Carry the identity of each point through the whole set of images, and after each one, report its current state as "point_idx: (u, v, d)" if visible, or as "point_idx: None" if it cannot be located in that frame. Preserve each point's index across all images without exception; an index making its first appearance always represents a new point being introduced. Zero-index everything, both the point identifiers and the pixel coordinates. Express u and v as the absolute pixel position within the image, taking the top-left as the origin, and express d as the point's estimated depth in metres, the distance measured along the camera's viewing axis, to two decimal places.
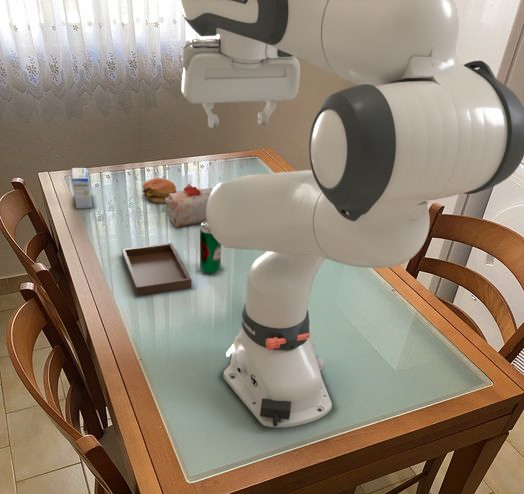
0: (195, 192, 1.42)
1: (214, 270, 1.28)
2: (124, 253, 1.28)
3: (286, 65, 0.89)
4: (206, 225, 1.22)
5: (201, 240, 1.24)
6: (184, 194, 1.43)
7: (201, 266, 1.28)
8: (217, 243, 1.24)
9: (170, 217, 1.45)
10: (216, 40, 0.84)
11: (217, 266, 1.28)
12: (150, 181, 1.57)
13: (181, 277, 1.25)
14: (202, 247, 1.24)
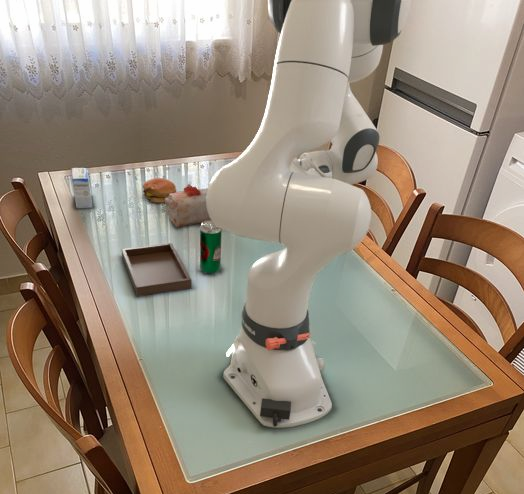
0: (195, 192, 1.42)
1: (214, 270, 1.28)
2: (124, 253, 1.28)
3: None
4: (206, 225, 1.22)
5: (201, 240, 1.24)
6: (184, 194, 1.43)
7: (201, 266, 1.28)
8: (217, 243, 1.24)
9: (170, 217, 1.45)
10: None
11: (217, 266, 1.28)
12: (150, 181, 1.57)
13: (181, 277, 1.25)
14: (202, 247, 1.24)
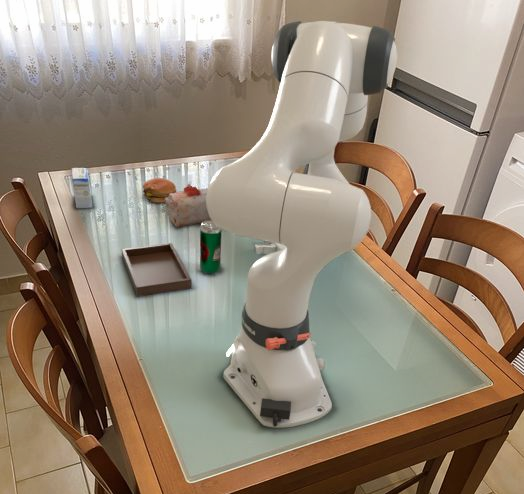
0: (195, 192, 1.42)
1: (214, 270, 1.28)
2: (124, 253, 1.28)
3: None
4: (206, 225, 1.22)
5: (201, 240, 1.24)
6: (184, 194, 1.43)
7: (201, 266, 1.28)
8: (217, 243, 1.24)
9: (170, 217, 1.45)
10: None
11: (217, 266, 1.28)
12: (150, 181, 1.57)
13: (181, 277, 1.25)
14: (202, 247, 1.24)
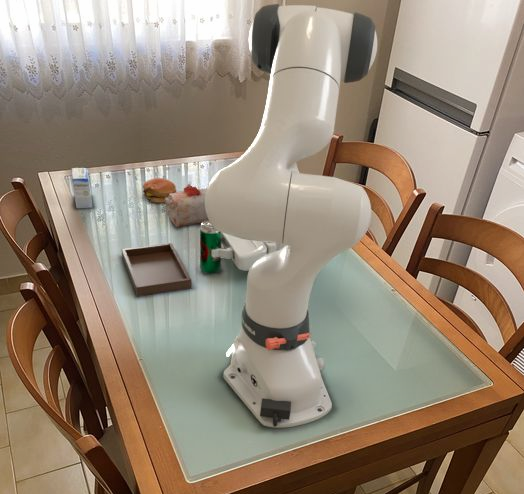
0: (195, 192, 1.42)
1: (214, 270, 1.28)
2: (124, 253, 1.28)
3: (259, 247, 1.23)
4: (206, 225, 1.22)
5: (201, 240, 1.24)
6: (184, 194, 1.43)
7: (201, 266, 1.28)
8: (217, 243, 1.24)
9: (170, 217, 1.45)
10: None
11: (217, 266, 1.28)
12: (150, 181, 1.57)
13: (181, 277, 1.25)
14: (202, 247, 1.24)
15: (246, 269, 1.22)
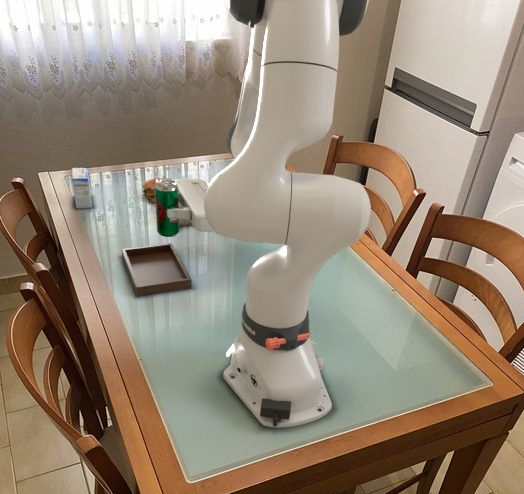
0: None
1: (172, 233, 1.19)
2: (124, 253, 1.28)
3: None
4: (161, 183, 1.13)
5: (156, 199, 1.15)
6: None
7: (158, 229, 1.19)
8: (173, 202, 1.15)
9: None
10: None
11: (175, 229, 1.19)
12: (150, 181, 1.57)
13: (181, 277, 1.25)
14: (157, 207, 1.16)
15: (204, 230, 1.13)
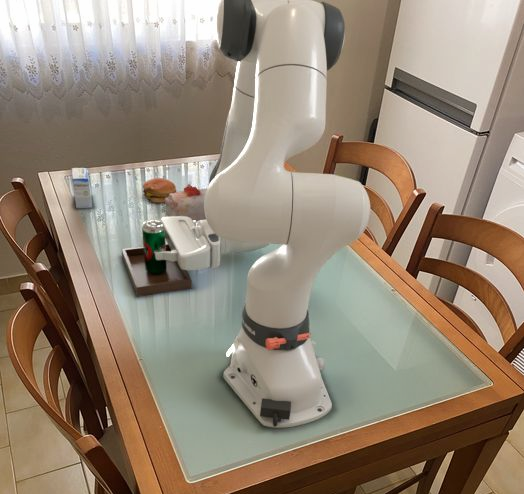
0: (195, 192, 1.42)
1: (159, 271, 1.25)
2: (124, 253, 1.28)
3: (203, 246, 1.20)
4: (148, 224, 1.19)
5: (144, 240, 1.20)
6: (184, 194, 1.43)
7: (146, 266, 1.25)
8: (160, 243, 1.20)
9: None
10: None
11: (162, 267, 1.25)
12: (150, 181, 1.57)
13: (181, 277, 1.25)
14: (145, 247, 1.21)
15: (189, 269, 1.18)
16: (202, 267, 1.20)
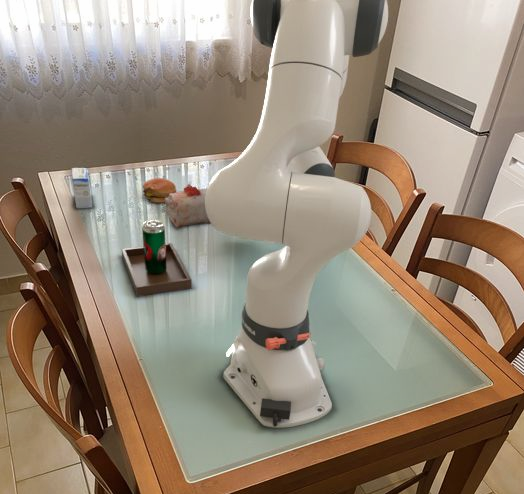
0: (195, 192, 1.42)
1: (159, 271, 1.25)
2: (124, 253, 1.28)
3: None
4: (148, 224, 1.19)
5: (144, 240, 1.20)
6: (184, 194, 1.43)
7: (146, 266, 1.25)
8: (160, 243, 1.20)
9: (170, 217, 1.45)
10: None
11: (162, 267, 1.25)
12: (150, 181, 1.57)
13: (181, 277, 1.25)
14: (145, 247, 1.21)
15: None
16: None
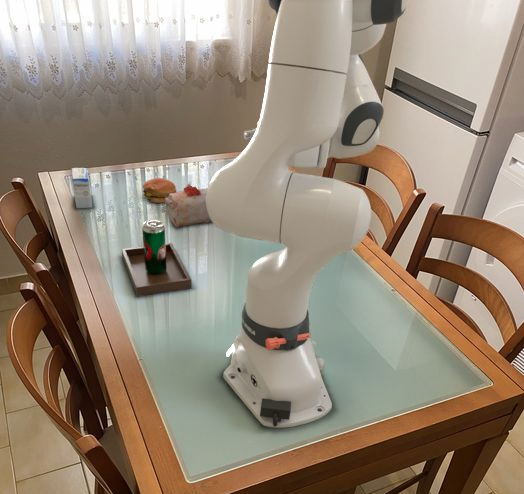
0: (195, 192, 1.42)
1: (159, 271, 1.25)
2: (124, 253, 1.28)
3: None
4: (148, 224, 1.19)
5: (144, 240, 1.20)
6: (184, 194, 1.43)
7: (146, 266, 1.25)
8: (160, 243, 1.20)
9: (170, 217, 1.45)
10: None
11: (162, 267, 1.25)
12: (150, 181, 1.57)
13: (181, 277, 1.25)
14: (145, 247, 1.21)
15: (297, 165, 1.10)
16: (310, 165, 1.12)
